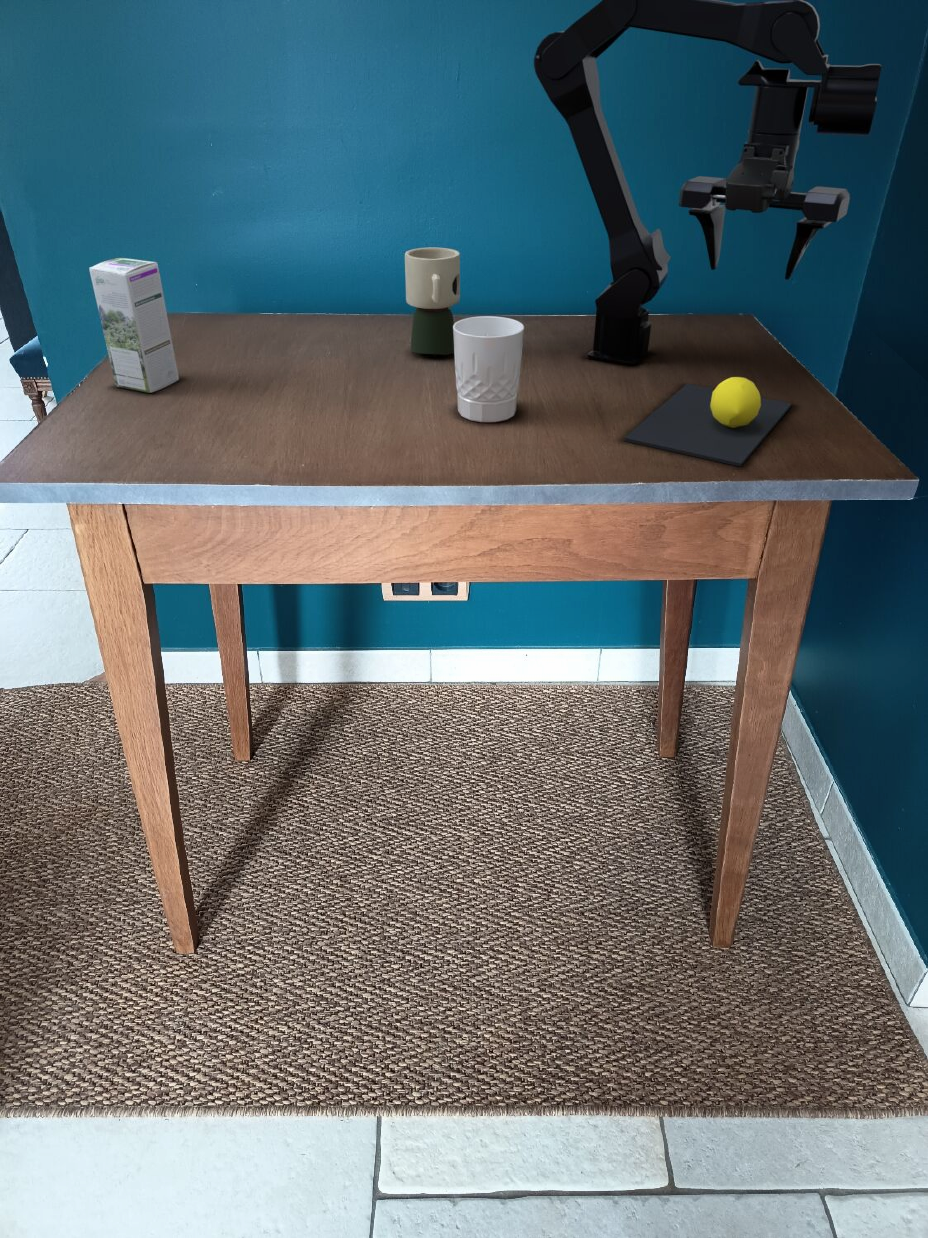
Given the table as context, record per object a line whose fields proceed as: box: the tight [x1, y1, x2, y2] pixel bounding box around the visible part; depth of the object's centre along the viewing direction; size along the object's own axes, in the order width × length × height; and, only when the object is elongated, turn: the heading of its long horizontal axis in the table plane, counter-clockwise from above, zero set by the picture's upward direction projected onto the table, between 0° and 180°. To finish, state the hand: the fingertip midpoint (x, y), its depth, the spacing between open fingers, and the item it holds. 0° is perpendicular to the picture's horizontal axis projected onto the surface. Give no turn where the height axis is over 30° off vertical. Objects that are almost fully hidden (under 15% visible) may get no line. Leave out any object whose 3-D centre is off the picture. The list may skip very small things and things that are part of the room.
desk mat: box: [623, 383, 793, 467], centre depth 105 cm, size 13×20×1 cm, turn 149°
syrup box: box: [88, 257, 180, 394], centre depth 111 cm, size 6×6×14 cm
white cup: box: [453, 315, 525, 423], centre depth 105 cm, size 8×8×10 cm
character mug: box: [404, 246, 461, 357], centre depth 122 cm, size 11×7×13 cm, turn 8°
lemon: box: [710, 376, 761, 428], centre depth 102 cm, size 7×5×5 cm
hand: (749, 273), depth 114 cm, fingers open, 9 cm apart
